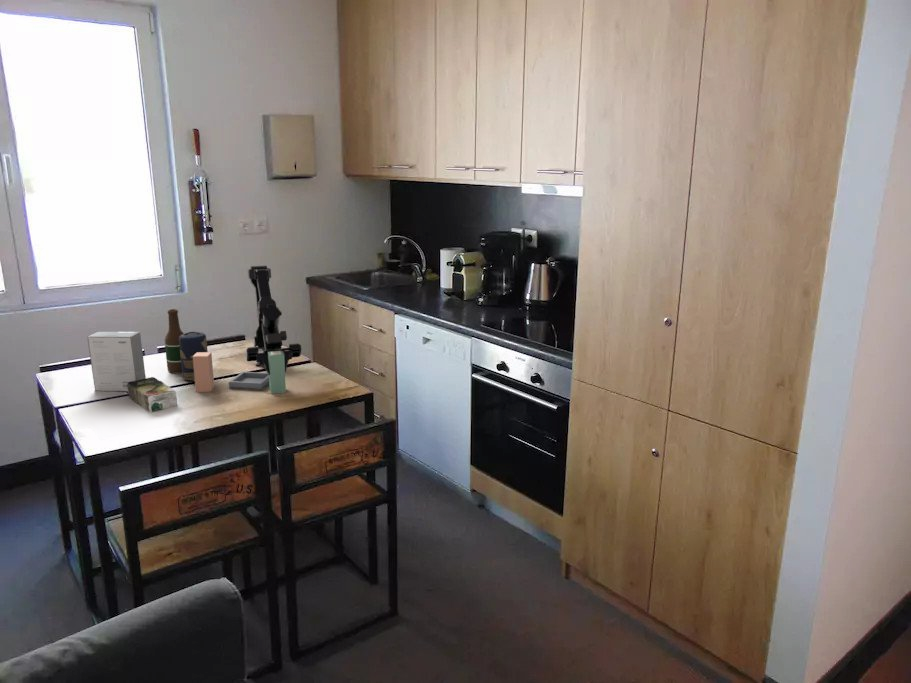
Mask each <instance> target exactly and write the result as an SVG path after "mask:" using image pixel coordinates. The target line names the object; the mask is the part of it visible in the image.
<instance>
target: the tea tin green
mask: <svg viewBox="0 0 911 683" xmlns="http://www.w3.org/2000/svg"><path fill="white" fill-rule="evenodd" d="M268 366H269V371H270V374H269V384H268V386H269V390H270V391H269V392H270V394H271V395H274V394H285V393H286V392H287V387H286V373H285V361H284V353H283V351H272V352H268Z"/></svg>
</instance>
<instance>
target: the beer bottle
mask: <svg viewBox="0 0 911 683" xmlns="http://www.w3.org/2000/svg"><path fill="white" fill-rule="evenodd" d="M178 313H179V310H178V309H174V308H173V309H169V310H167V315H168V332H167V333H166V335H165V338H164V350H165V357H166V358H165V359H166V367H167V372H168V373H171V374H182V366H181V355H180V345H179V336H180V335H182V334H185V333H184V332H183V331H182V330H181V327H180V326H181V325H180V321H179V315H178Z"/></svg>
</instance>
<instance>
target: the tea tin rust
mask: <svg viewBox="0 0 911 683" xmlns="http://www.w3.org/2000/svg"><path fill="white" fill-rule="evenodd" d="M193 366H194V377H195V381H194V384H195V385H194V386H195V393H196V392H199V393H200V392H201V393H203V392H204V393H205V392H207V393H208V392H209V393H210V392H212V390H214V388H215V380H214V370H213V369H214V368H213V367H214V366H213V356H212V351H208V352H197V353H196V354H195V355H194V356H193Z"/></svg>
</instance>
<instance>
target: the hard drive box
mask: <svg viewBox="0 0 911 683" xmlns="http://www.w3.org/2000/svg"><path fill="white" fill-rule="evenodd" d="M141 338H142V337H141V331H97V332H95V333H92V334H90V335H88V336H87V344H88V345H87V346H88V351H89V353H88V354H89V357H90V358H89V359H90V365H91V371H92V379H93V387H94V391H102V392H103V391H104V392H108V391H109V392H128V382H131V381H138V380H142V379H146V378H147V376H146V369H145V363H144V362H145V361H144V353H143V346H142V339H141Z"/></svg>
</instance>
